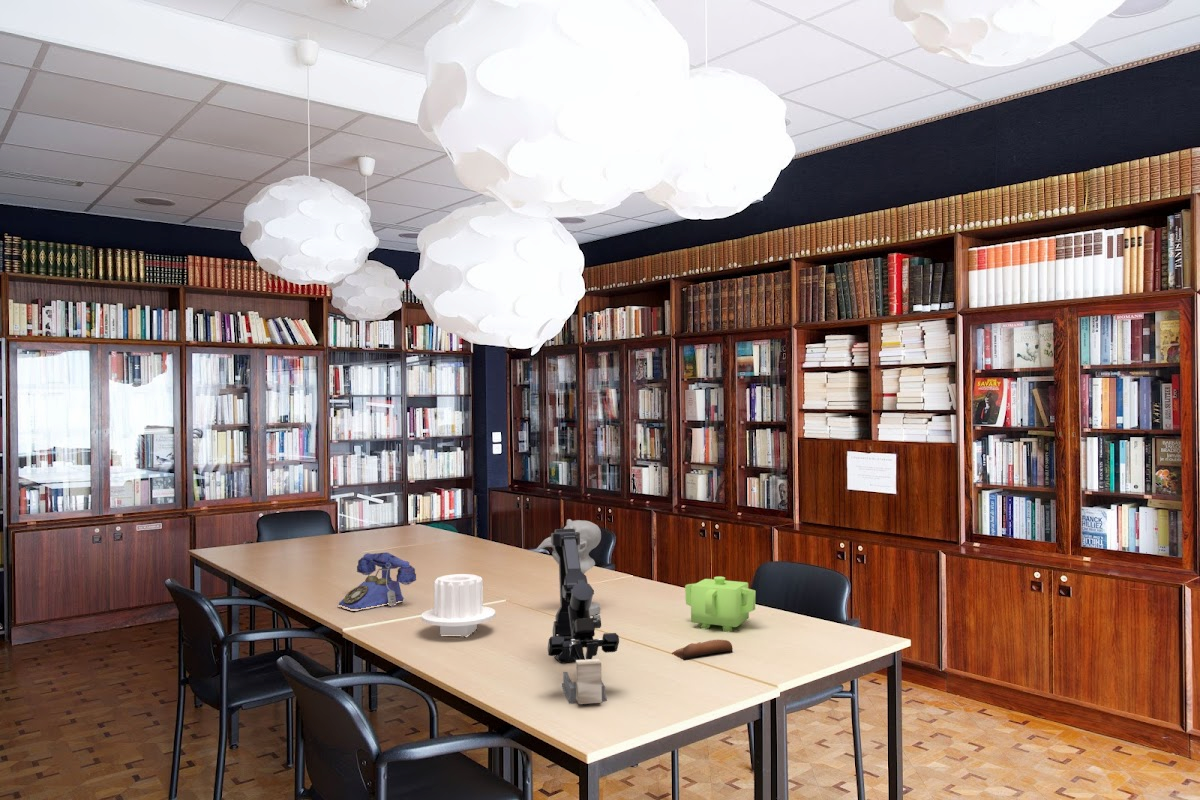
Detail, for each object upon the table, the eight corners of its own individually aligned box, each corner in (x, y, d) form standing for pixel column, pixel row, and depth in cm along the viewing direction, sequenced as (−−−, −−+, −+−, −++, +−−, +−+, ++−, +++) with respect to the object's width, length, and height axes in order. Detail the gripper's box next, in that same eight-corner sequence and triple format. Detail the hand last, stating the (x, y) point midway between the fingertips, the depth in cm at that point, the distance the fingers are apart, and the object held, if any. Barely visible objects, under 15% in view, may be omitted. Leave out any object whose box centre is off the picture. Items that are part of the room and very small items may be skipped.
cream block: (576, 698, 216) (575, 660, 216) (599, 697, 217) (598, 658, 217) (578, 704, 212) (578, 664, 212) (601, 702, 213) (601, 663, 214)
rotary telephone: (316, 601, 337) (316, 552, 338) (369, 592, 355) (369, 544, 355) (370, 618, 309) (369, 564, 309) (425, 606, 326) (424, 555, 326)
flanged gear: (481, 644, 271) (480, 586, 271) (409, 641, 276) (408, 584, 276) (504, 625, 296) (504, 572, 296) (438, 622, 301) (438, 570, 301)
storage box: (674, 629, 287) (674, 579, 288) (698, 615, 307) (697, 568, 308) (744, 638, 276) (744, 586, 276) (764, 622, 296) (763, 574, 296)
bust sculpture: (541, 607, 322) (540, 516, 323) (603, 607, 321) (602, 516, 322) (535, 617, 306) (534, 522, 307) (600, 617, 305) (599, 522, 305)
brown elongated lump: (717, 645, 267) (723, 630, 264) (728, 661, 262) (734, 646, 259) (669, 653, 259) (674, 637, 256) (679, 670, 254) (685, 654, 251)
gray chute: (561, 685, 229) (561, 672, 229) (597, 683, 231) (597, 669, 231) (568, 703, 216) (568, 688, 216) (606, 700, 217) (606, 685, 217)
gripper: (548, 606, 221) (554, 660, 210) (617, 602, 224) (626, 655, 213) (545, 628, 229) (550, 681, 218) (612, 625, 232) (620, 677, 221)
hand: (587, 673), depth 217 cm, fingers closed, pressing on cream block
